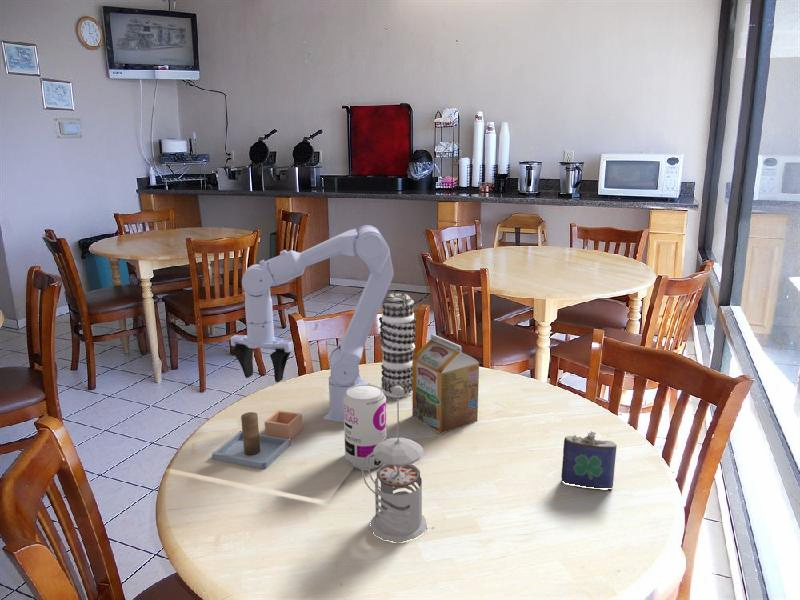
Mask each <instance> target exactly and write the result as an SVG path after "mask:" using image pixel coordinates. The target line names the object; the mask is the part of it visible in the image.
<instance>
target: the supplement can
mask: <svg viewBox="0 0 800 600" xmlns="http://www.w3.org/2000/svg"><path fill="white" fill-rule="evenodd" d="M343 404H344V422H343V426H344V429H343V430H344V453H345V454H344V456H345V462H346V463H347V464H348V465H349V466H350V467H353V469H357V470H360V471H362V463H363V461H364V459H365V457H367V456H368V455H370V454H371V453H372V452H373V451H374V448H375V447H376V445H377V444H379V443H381V442H383V441H385V440H387V439H388V438H387V437H388V436H387V396H386V395H384V394H383V391H382V387H380V386H379V385H375V384H371V385H369V384H362V385H356V386H353V387H350V388H349V389H348V390H347V392H346V395H345V397H344V399H343ZM368 458H369V457H368ZM368 458H367V459H366V460H365V462H364V465H363V470H364V471H368ZM377 460H378V459H377ZM383 464H384V463H383V462H381V461H376V460H375V456H374V455H372V456H371V457H370V460H369V469H370V470H375V469H378V468H380V467H382V466H383Z"/></svg>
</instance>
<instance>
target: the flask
mask: <svg viewBox="0 0 800 600" xmlns="http://www.w3.org/2000/svg"><path fill="white" fill-rule="evenodd" d="M596 434H597V433H596V432H595V431H594V432H593V431H590V432H587V436H584V437H582V436H577V435H576V434H574V435H568V436H565V437H564V439H563V450H562V451H563V452H562V453H563V454H562V462H561V463H562V465H561V475H560V476H561V478H562V479H561V482H562V481H564V482H565V483H569V484H575V485H580V486H586V487H594V488H612V489H613V487H614V481H615V480H614V479H615V478H614V477H615V475H614V474H615V468H616V467H615V466H616V458H617V456H616V455H617V444H616V442H614V441H612V440H601V439H600V440H598V439H595V438H596Z"/></svg>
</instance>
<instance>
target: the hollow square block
mask: <svg viewBox="0 0 800 600" xmlns="http://www.w3.org/2000/svg"><path fill="white" fill-rule="evenodd" d="M302 414H303V413H300V412H299V413H297V412H292V411H285V410H276V412H274V413H273V414H272V415H271V416H270V417H269V418H267V419H266V420H265V421H264V435H267V436H273V437H278V438H284V439H290V441H291V440H292V439H293V438H294V437H295V436H296V435H297V434H299V432H300V431H302V430H303V415H302Z"/></svg>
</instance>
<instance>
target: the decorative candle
mask: <svg viewBox="0 0 800 600" xmlns="http://www.w3.org/2000/svg"><path fill="white" fill-rule="evenodd" d="M414 303H415V300H414V299H412V298H411V297H410V295H408V294H407V293H403V292H402V293H401V292H395V293H394V292H393V293H390V294H386V295H385V297H384V299H383V302H382V304H381V305H382V313H381V317H379V318H378V321H379V323H380V325H379V329H380V332H379V334H380V337H381V339H380V344H381V346H380V347H381V350H382V354H383V355H382V359H381V361H382V362H381V363H382V364H381V365H380V367H381V375H382V376H381V379H380V380H381V389H382V391H383V394H384V395H385V397H389V398H393V399H394V398H395V399H397V395H393V394H392V388H393V387H394V386H401V387H402V388H403V392H404V393H403V394H402V395H399V399H403V398H408V397H410V396H411V397H412V359H413V357H414V350H415V348H416V345H415V343H416V341H417V339H416V338H415V337H416V335H417V333H416V331H414V330H416V328H418V326H417V324H415V323H417V321H418V319H417V318H416V317H415V313H414Z"/></svg>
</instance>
